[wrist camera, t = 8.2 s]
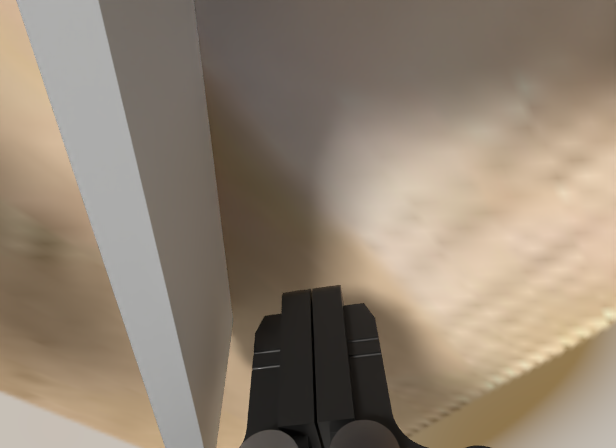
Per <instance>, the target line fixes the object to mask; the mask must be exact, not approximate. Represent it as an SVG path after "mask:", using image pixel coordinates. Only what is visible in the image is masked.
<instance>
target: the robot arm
mask: <svg viewBox="0 0 616 448" xmlns="http://www.w3.org/2000/svg"><path fill="white" fill-rule="evenodd" d="M252 368H253V371H252V376H251V388H250V399H249V410H248V421H247V430H246V435H245V438H244V441H243V443H242V445H241V446H240V447H239V448H427V447H424V446H421V445H419V444H417V443H415V442H413V441H412V440H410V439H409V438H408V437H407V436H405V435H404V434H403V432H402V431H401V430H400V429H399V427H398V426H397V424H396V422H395V420H394V418H393V414H392V410H391V404H390V399H389V393H388V388H387V382H386V377H385V371H384V366H383V360H382V355H381V349H380V343H379V338H378V332H377V327H376V321H375V318H374V316H373V315H372V314H371V312H370V311H369V310H368V308H367V307H366V306H365V304H364V303H361V304H353V305H345V306H344V303H343V297H342V291H341V286H340V285H337V286H329V287H322V288H314V289H312V291H311V289H308V290H300V291H292V292H285V293H283V294H282V311H281V314H276V315H268V316H265V317H264V318H263V320H262V322H261V324H260V326H259V327H258V329H257V331H256V333H255V343H254V356H253V365H252ZM467 448H490V447H485V446H470V447H467Z"/></svg>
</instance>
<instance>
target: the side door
mask: <svg viewBox="0 0 616 448" xmlns="http://www.w3.org/2000/svg"><path fill="white" fill-rule="evenodd" d="M16 1H17V4H18V7H19V10H20V13H21V16H22V19H23V22H24V25H25V28H26V31H27V34H28V37H29V40H30V43H31V46H32V49H33V52H34V55H35V58H36V61H37V64H38V67H39V70H40V73H41V76H42V79H43V82H44V85H45V88H46V91H47V94H48V97H49V100H50V103H51V106H52V109H53V112H54V115H55V118H56V121H57V124H58V127H59V130H60V133H61V136H62V139H63V142H64V145H65V148H66V151H67V154H68V157H69V160H70V163H71V166H72V169H73V172H74V175H75V178H76V181H77V184H78V187H79V190H80V193H81V196H82V199H83V202H84V205H85V208H86V211H87V214H88V217H89V220H90V223H91V226H92V229H93V232H94V235H95V238H96V241H97V244H98V247H99V250H100V253H101V256H102V259H103V262H104V265H105V268H106V271H107V274H108V277H109V280H110V283H111V286H112V289H113V292H114V295H115V298H116V301H117V304H118V307H119V310H120V313H121V316H122V319H123V322H124V325H125V328H126V331H127V334H128V337H129V340H130V343H131V346H132V349H133V352H134V355H135V358H136V361H137V364H138V367H139V370H140V373H141V376H142V379H143V382H144V385H145V388H146V391H147V394H148V397H149V400H150V403H151V406H152V409H153V412H154V415H155V418H156V421H157V424H158V427H159V430H160V433H161V436H162V439H163V442H164V445H165V448H216V445H217V437H218V430H219V423H220V415H221V408H222V401H223V393H224V386H225V378H226V371H227V364H228V356H229V349H230V342H231V334H232V327H233V314H232V305H231V297H230V289H229V281H228V273H227V265H226V257H225V249H224V240H223V232H222V224H221V216H220V208H219V200H218V192H217V184H216V175H215V167H214V159H213V151H212V143H211V135H210V127H209V119H208V110H207V102H206V94H205V86H204V78H203V70H202V62H201V54H200V45H199V37H198V29H197V21H196V13H195V5H194V0H16Z"/></svg>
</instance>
